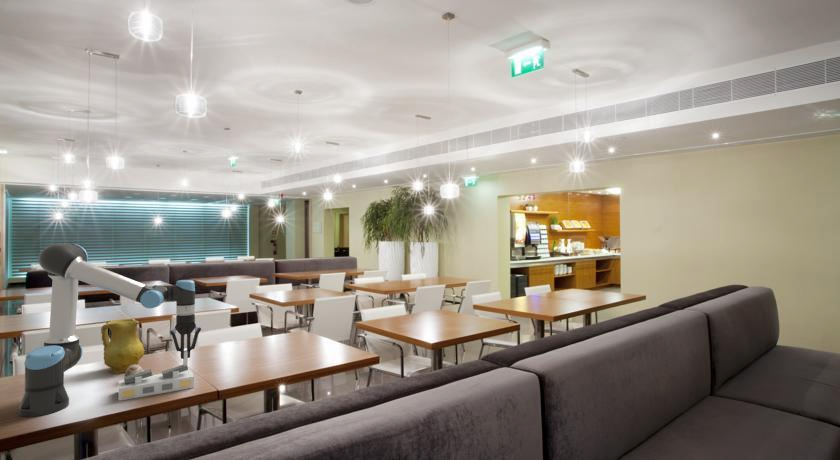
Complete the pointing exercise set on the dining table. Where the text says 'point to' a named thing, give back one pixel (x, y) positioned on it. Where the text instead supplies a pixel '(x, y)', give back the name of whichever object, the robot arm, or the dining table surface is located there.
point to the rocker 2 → (170, 371)
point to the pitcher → (121, 345)
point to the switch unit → (155, 385)
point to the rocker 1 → (132, 377)
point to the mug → (133, 369)
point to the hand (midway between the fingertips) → (185, 365)
